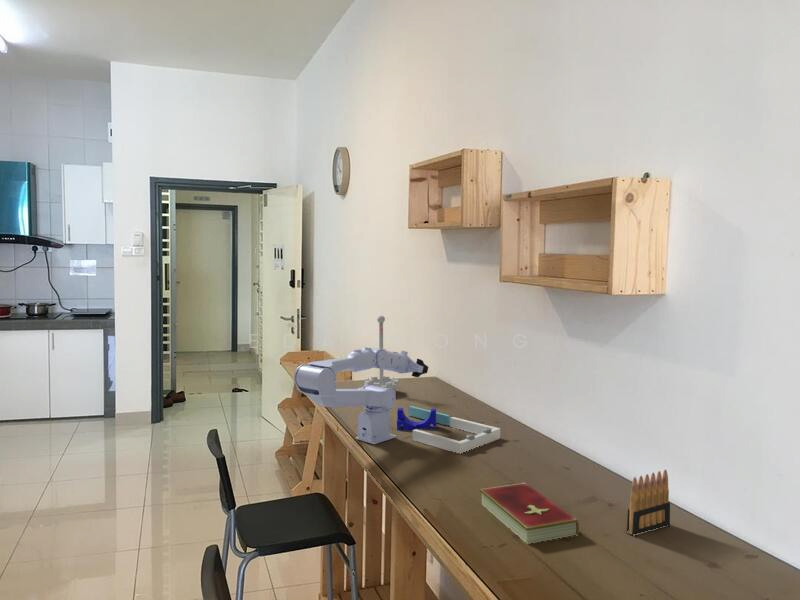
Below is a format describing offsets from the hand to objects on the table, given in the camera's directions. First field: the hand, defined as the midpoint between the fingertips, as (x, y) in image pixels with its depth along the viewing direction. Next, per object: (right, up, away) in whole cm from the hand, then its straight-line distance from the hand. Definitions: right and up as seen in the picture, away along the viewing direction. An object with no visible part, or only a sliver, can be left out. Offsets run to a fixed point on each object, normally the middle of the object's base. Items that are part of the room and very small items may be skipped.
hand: (417, 366), depth 210 cm
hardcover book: (+21, -26, -70) cm, 78 cm away
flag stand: (-13, -14, +40) cm, 44 cm away
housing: (+11, -20, -15) cm, 27 cm away
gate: (+4, -18, +3) cm, 18 cm away
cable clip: (0, -19, -5) cm, 20 cm away
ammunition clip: (+46, -26, -75) cm, 92 cm away
